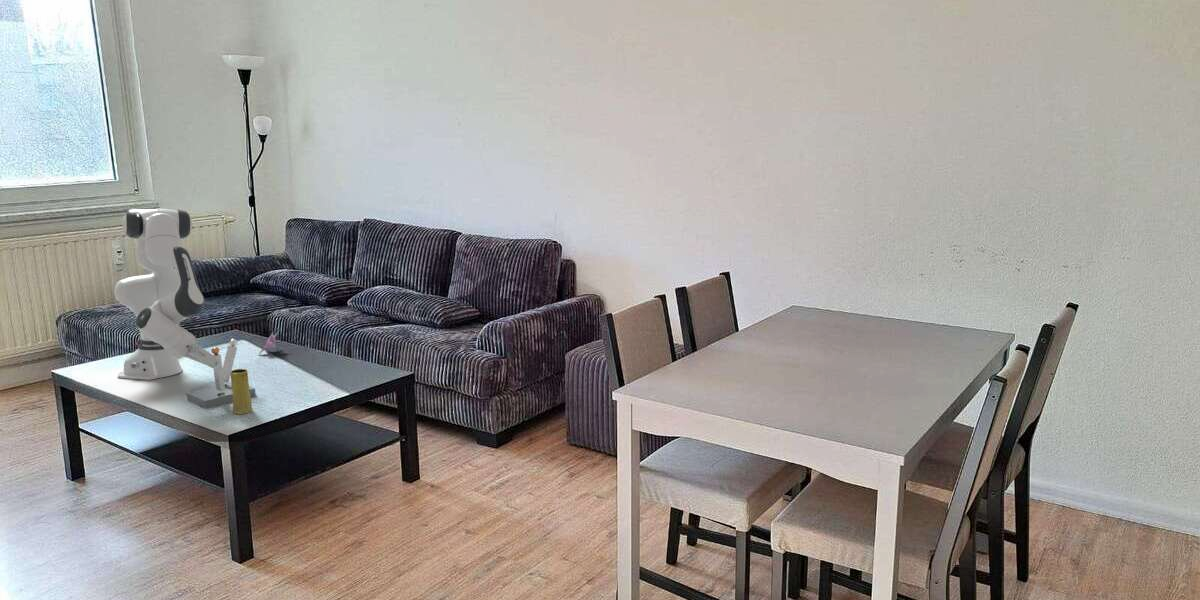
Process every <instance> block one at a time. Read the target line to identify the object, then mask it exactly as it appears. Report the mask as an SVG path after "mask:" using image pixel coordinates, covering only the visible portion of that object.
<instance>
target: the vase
mask: <svg viewBox="0 0 1200 600" xmlns="http://www.w3.org/2000/svg"><path fill="white" fill-rule="evenodd" d="M230 382H231V384H232V393H233V401H232V413H233V414H234V415H246V414H249V413H252V411H253V407H252V398H251V397H252V396H251V397H250V390H249V386H250V384H249V383H250V382H249V375H248V369H247V368H237V369H232V371H231V372H230Z"/></svg>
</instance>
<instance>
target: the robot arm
mask: <svg viewBox="0 0 1200 600" xmlns="http://www.w3.org/2000/svg"><path fill="white" fill-rule="evenodd" d="M122 228H123V229H122V230H123V231H124V232H125V235H126V236H127V237H129V238H131V239H136V240H137V241H136V245H137V246H136V262H137V263H138V264H139V266H140V267H141V268H143V269H145V270H147V271H150V272H151V273H148V274H144V275H143V274H142V275H134V276H130V277H125V278H122V279H120V280H118V281H117V282H116V284H115V287H114V296H115V299H116V300H117V302H119V304H121V305H122V306H125V307H126V308H129V310H131V312H132V313H134V315H135V316H136V318H135V319H136V320H135V326H136V327H137V329H138V331H139V330H140V331H141V336H142V339H140V338H139V340H138V341H136V342H135V346H138V348H137V349H136V350H135V351H133V353H131V354H130V355H129V356H128V357H126V359H125V360H124V363H123V370H121V371H120V372H118V374H117V378H119V379H133V380H147V381H148V380H149V381H151V380H156V379H160V378H165V377H169V376H170V377H171V376H174V375H177V374H179V373H181V372H183V368H182V365H181V364H180V360H179V358H182V357H183V358H188V359H189V360H193V361H194V362H197V363H200V364H202V365H205V366H206V367H207V366H208V368H212V369H213V368H214V367H215V366H216V362H217V360H218V358H217V357H215V356H214V355H212V354H213V353H212V352H209V351H208V350H207V349H205V348H203V347H201V346H199V345H197V342H196V336H195V335H194V334H193V333H191V332H189V331H188V330H186V329H185V328H184V327H182V326H181V325H180V326H179V323H181V322H182V321H184V320H186V319H188V318H191V317H194V316H196V315H199V314H200V313H202V312H203V311H204V308H205V302H206V301H205V300H206V299H205V297H204V296H205V295H204V294H203V292H202V291H201V288H200V286H199V282H198V279H197V275H196V272H195V268H194V264H193V261H192V257H191V255H190V254H189V252H188V250H186V249H185V248H184V247H182V243H181V239H186V238H187V237H188V236H190V234H191V231H192V228H193V221H192V219H191V216H190V213H188V212H187V211H186V210H182V209H176V210H175V209H170V208H169V209H168V208H160V207H159V208H143V209H142V208H141V209H138V208H134V209H128V210H127V211H126V212H125V214H124V216H123V218H122Z"/></svg>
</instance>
